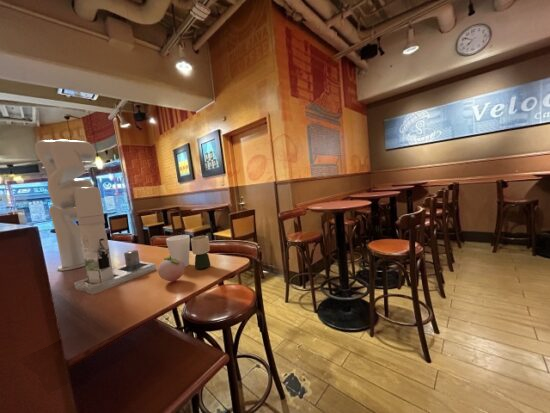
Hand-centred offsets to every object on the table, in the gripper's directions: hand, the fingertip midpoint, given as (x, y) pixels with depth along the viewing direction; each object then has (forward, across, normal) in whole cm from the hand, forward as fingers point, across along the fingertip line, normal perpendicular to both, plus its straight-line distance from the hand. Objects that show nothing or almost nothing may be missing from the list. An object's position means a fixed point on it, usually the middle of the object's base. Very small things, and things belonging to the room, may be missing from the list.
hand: (99, 266), depth 86 cm
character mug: (+7, +26, +26) cm, 38 cm away
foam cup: (+7, +15, +24) cm, 29 cm away
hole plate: (+7, 0, +6) cm, 9 cm away
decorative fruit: (+7, +26, +11) cm, 29 cm away
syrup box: (+6, 0, 0) cm, 6 cm away
